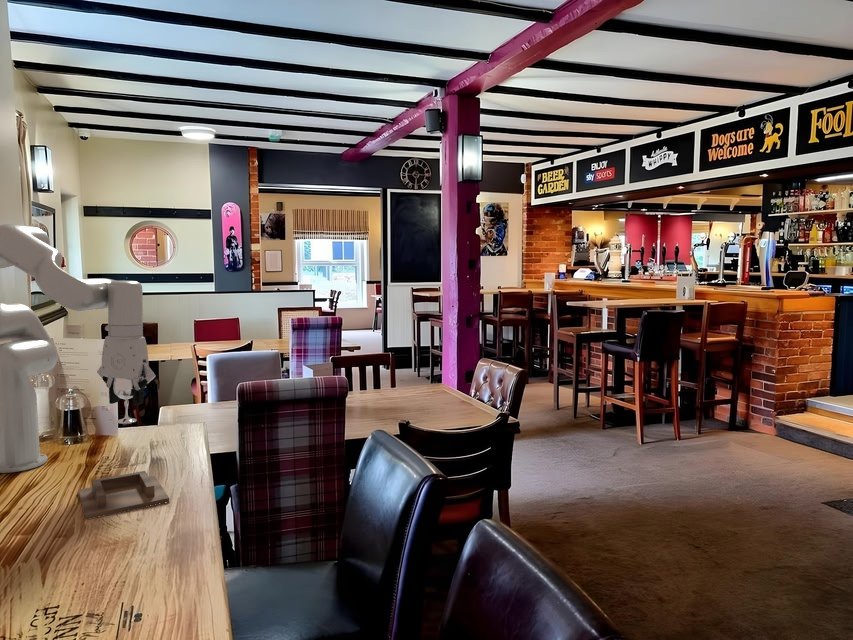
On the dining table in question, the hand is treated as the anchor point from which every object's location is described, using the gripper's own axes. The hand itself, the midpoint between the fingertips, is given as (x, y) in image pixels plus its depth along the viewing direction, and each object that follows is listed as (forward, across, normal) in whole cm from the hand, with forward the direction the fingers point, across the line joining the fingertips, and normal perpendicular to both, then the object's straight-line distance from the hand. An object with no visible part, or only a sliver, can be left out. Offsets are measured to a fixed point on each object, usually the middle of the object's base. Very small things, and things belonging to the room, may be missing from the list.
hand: (126, 402), depth 147 cm
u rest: (+17, +10, -15) cm, 25 cm away
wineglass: (+5, 0, 0) cm, 5 cm away
